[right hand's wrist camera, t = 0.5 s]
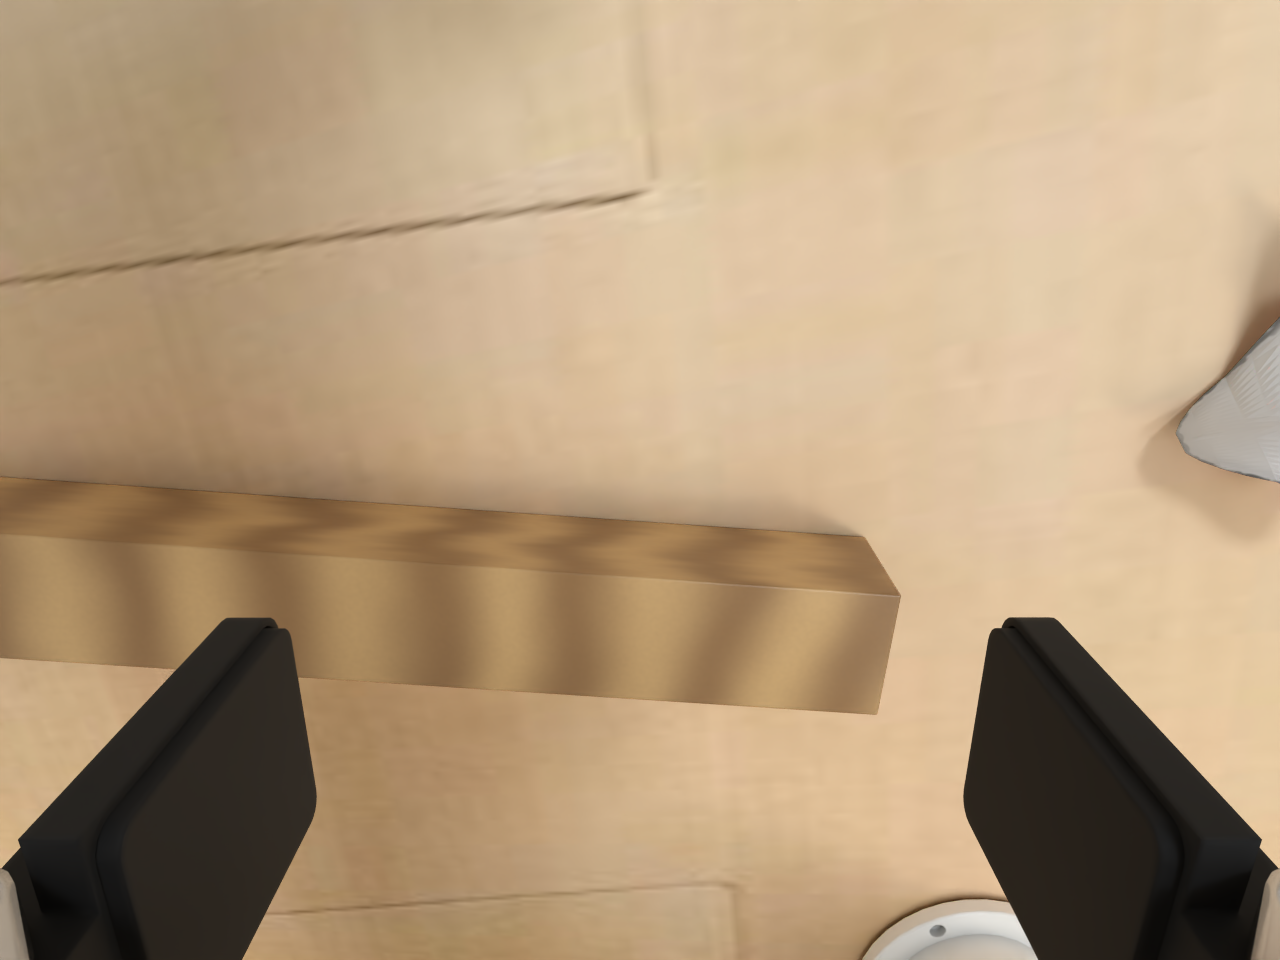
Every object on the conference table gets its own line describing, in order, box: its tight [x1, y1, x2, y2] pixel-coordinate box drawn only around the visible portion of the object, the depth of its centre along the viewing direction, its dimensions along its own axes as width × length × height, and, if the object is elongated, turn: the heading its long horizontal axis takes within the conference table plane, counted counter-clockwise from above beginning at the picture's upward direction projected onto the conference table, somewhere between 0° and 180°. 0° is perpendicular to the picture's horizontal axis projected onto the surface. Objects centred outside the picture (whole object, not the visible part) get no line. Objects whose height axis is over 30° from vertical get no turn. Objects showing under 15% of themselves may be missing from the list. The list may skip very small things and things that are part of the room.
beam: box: [0, 477, 901, 715], centre depth 37 cm, size 51×6×6 cm, turn 86°
